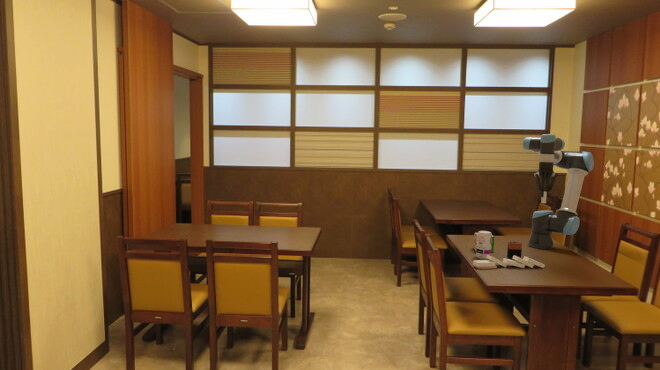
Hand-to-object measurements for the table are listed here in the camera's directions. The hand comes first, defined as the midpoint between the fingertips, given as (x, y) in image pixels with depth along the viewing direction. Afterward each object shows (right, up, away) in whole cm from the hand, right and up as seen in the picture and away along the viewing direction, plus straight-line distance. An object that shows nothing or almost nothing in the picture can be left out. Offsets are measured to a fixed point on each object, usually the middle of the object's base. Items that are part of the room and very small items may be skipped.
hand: (543, 202), depth 275 cm
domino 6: (-7, -33, -15) cm, 37 cm away
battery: (-16, -32, +3) cm, 36 cm away
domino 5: (-14, -33, -15) cm, 39 cm away
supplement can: (-34, -32, +2) cm, 46 cm away
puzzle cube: (-28, -30, +19) cm, 46 cm away
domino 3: (-28, -33, -15) cm, 46 cm away
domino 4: (-18, -33, -15) cm, 41 cm away
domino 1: (-35, -31, -18) cm, 50 cm away
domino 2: (-34, -33, -17) cm, 50 cm away
